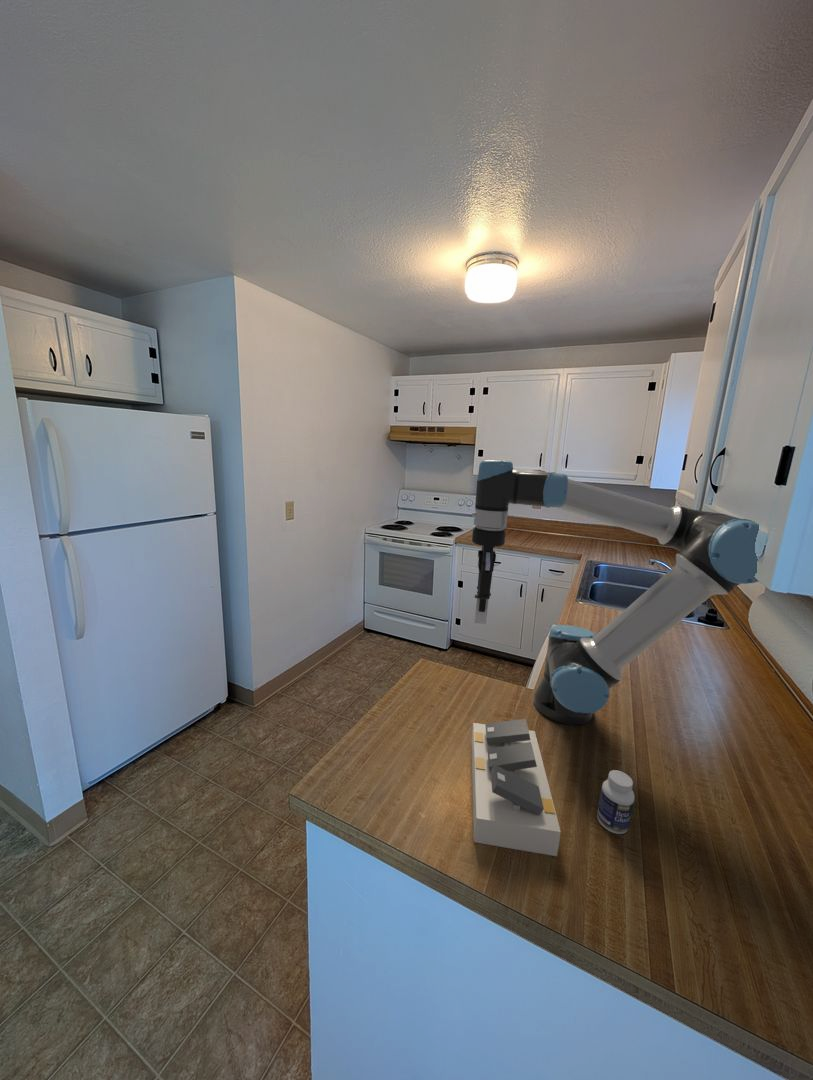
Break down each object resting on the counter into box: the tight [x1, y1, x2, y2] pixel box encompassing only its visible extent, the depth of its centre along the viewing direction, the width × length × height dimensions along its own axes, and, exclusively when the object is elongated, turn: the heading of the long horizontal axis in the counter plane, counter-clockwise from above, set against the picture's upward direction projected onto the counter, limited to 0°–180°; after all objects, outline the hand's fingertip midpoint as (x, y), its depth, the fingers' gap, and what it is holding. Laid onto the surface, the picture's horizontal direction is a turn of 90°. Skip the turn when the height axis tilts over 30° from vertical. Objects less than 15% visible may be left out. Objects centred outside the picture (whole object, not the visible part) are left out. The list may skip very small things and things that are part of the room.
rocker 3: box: [491, 765, 544, 815], centre depth 74 cm, size 9×5×2 cm, turn 82°
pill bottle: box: [596, 769, 636, 835], centre depth 76 cm, size 5×5×10 cm
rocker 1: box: [484, 718, 530, 745], centre depth 89 cm, size 9×5×2 cm, turn 82°
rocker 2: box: [487, 742, 537, 773], centre depth 81 cm, size 9×5×2 cm, turn 82°
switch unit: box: [470, 722, 562, 857], centre depth 82 cm, size 14×26×6 cm, turn 172°
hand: (480, 622), depth 100 cm, fingers closed
